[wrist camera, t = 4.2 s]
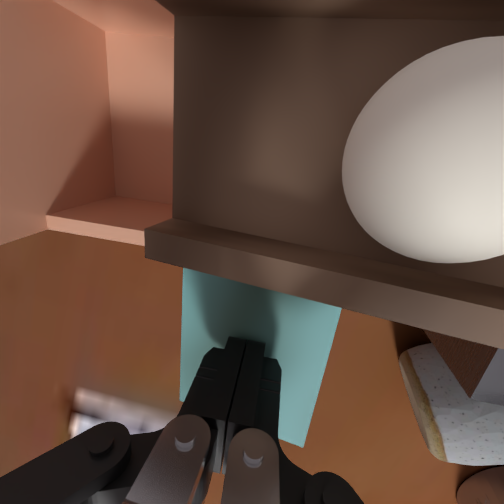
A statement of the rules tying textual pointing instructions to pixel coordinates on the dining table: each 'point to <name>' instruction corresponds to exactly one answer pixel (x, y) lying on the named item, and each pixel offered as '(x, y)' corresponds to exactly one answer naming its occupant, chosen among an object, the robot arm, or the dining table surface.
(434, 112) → the ball
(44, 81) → the cup
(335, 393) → the dining table surface
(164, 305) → the dining table surface
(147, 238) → the lever board
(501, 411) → the ceramic mug
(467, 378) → the pivot stand
